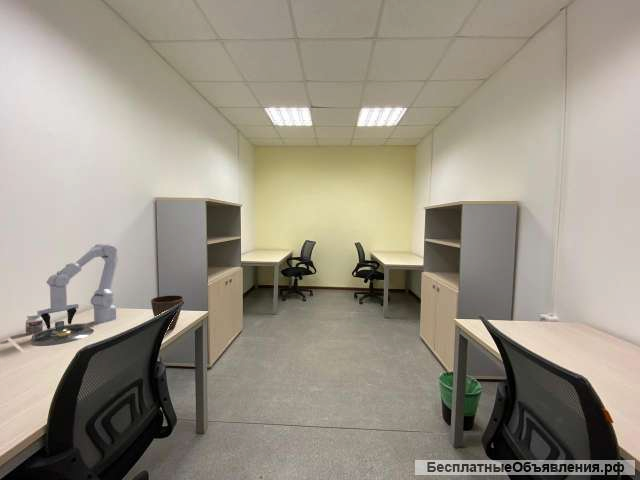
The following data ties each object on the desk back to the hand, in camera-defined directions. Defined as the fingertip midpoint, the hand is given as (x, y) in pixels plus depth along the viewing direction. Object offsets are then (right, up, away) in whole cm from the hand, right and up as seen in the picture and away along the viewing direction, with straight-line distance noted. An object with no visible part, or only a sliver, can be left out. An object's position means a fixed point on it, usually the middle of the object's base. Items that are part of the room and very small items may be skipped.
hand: (59, 326), depth 132 cm
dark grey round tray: (+5, -5, -3) cm, 8 cm away
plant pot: (+47, -5, +12) cm, 48 cm away
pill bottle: (-13, -5, +1) cm, 14 cm away
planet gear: (0, -4, 0) cm, 4 cm away
